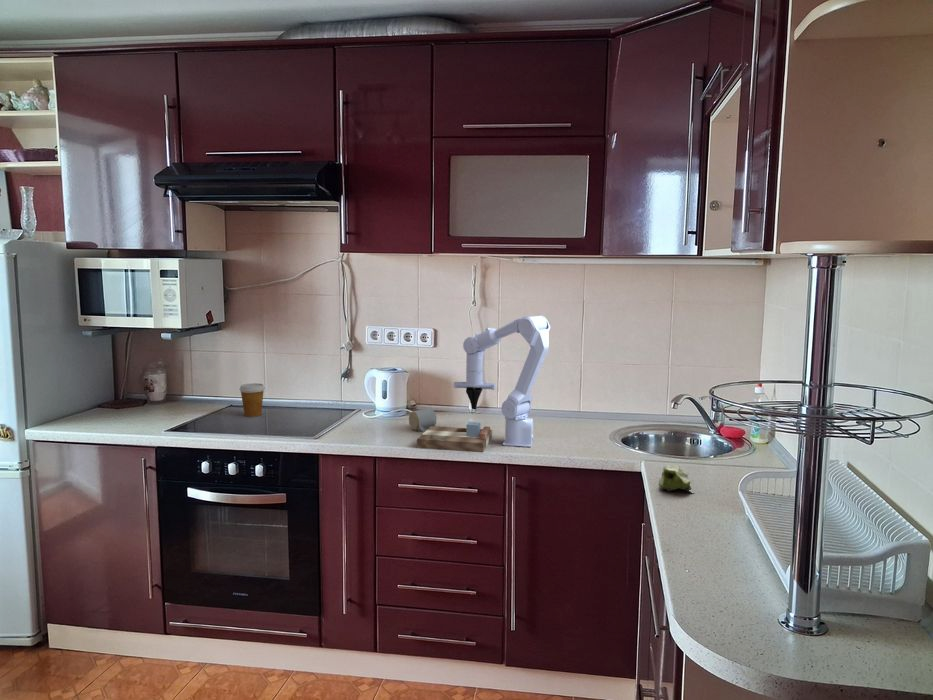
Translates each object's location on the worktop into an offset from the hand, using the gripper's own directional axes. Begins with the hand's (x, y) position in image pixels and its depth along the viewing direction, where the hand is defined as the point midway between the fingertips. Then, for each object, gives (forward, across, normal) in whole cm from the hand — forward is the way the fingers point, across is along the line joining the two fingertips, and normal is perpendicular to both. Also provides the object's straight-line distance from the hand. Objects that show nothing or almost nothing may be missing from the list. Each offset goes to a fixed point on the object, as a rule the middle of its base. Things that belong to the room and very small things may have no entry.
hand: (474, 408), depth 233 cm
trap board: (+9, +4, +12) cm, 16 cm away
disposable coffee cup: (+10, +91, -10) cm, 92 cm away
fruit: (+10, -64, +45) cm, 78 cm away
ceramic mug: (+10, +19, -3) cm, 21 cm away
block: (+6, -2, +12) cm, 14 cm away
